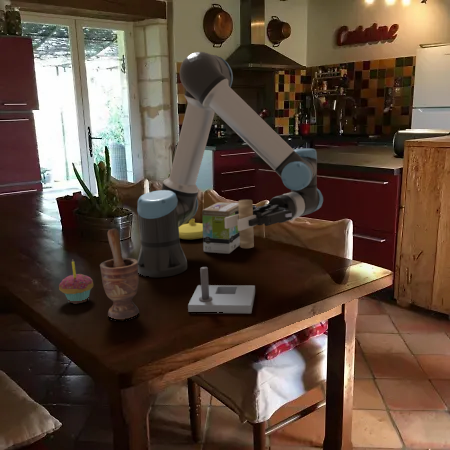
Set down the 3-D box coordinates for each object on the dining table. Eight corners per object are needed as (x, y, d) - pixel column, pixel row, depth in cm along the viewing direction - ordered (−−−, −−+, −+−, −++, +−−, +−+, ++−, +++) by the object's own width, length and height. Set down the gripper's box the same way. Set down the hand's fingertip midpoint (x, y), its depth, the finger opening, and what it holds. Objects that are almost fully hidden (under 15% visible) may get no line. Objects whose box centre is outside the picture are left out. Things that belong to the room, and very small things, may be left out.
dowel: (239, 248, 124) (237, 202, 121) (240, 244, 127) (238, 199, 124) (253, 248, 123) (252, 202, 120) (254, 244, 127) (252, 199, 124)
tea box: (230, 254, 159) (228, 210, 156) (202, 252, 163) (200, 209, 159) (244, 242, 173) (243, 201, 169) (218, 240, 176) (216, 201, 173)
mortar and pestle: (94, 311, 118) (85, 232, 113) (125, 301, 123) (118, 225, 119) (115, 325, 109) (106, 241, 105) (148, 314, 115) (141, 233, 110)
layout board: (188, 312, 115) (185, 272, 112) (198, 292, 127) (196, 256, 125) (251, 313, 113) (249, 272, 110) (255, 292, 125) (253, 255, 123)
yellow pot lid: (221, 236, 182) (221, 218, 181) (188, 245, 172) (186, 226, 171) (197, 230, 194) (195, 212, 192) (164, 237, 184) (162, 220, 183)
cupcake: (95, 304, 122) (90, 259, 119) (60, 309, 120) (54, 263, 117) (94, 293, 130) (89, 250, 127) (61, 297, 128) (56, 254, 125)
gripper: (311, 224, 132) (259, 243, 115) (262, 217, 143) (208, 234, 126) (311, 197, 130) (258, 213, 113) (261, 192, 141) (207, 206, 124)
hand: (232, 224), depth 119 cm, fingers closed on dowel, 3 cm apart
